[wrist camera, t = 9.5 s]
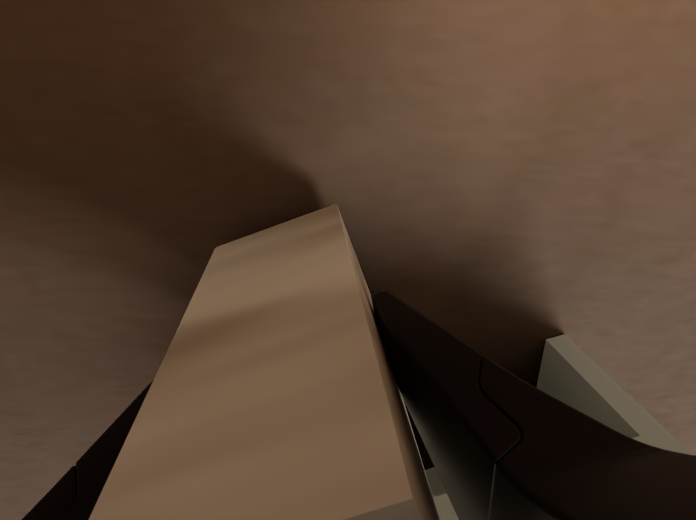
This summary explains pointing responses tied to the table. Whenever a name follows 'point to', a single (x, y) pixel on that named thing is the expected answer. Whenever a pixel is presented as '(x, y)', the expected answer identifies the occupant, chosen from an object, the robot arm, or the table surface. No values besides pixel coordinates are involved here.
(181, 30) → the table surface
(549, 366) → the pale green stool
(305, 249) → the wooden l-shaped block
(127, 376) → the table surface
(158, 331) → the table surface
